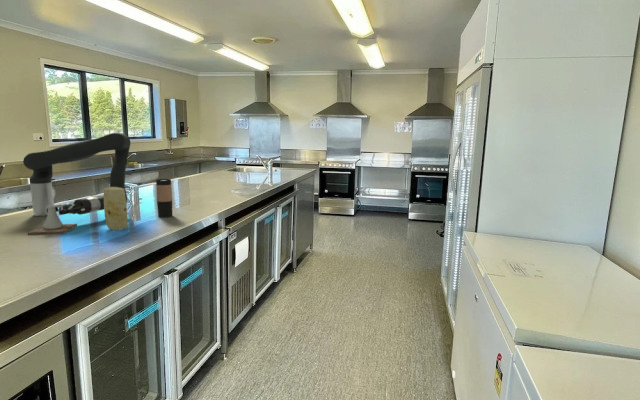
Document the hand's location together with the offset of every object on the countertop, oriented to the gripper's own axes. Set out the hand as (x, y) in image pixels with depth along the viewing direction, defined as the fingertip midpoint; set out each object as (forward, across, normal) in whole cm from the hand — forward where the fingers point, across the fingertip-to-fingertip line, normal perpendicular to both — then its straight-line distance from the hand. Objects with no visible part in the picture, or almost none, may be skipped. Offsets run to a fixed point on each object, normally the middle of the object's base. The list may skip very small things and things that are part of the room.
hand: (53, 211), depth 168 cm
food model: (-13, +23, +9) cm, 28 cm away
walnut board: (+1, 0, +8) cm, 9 cm away
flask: (+1, 0, +8) cm, 8 cm away
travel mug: (-44, +22, +9) cm, 50 cm away
